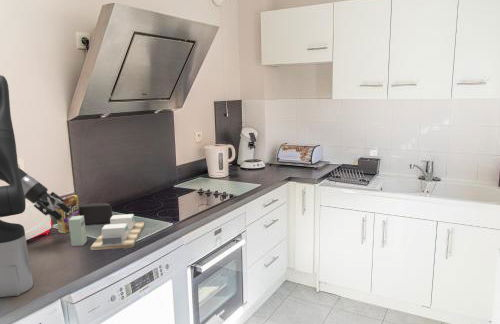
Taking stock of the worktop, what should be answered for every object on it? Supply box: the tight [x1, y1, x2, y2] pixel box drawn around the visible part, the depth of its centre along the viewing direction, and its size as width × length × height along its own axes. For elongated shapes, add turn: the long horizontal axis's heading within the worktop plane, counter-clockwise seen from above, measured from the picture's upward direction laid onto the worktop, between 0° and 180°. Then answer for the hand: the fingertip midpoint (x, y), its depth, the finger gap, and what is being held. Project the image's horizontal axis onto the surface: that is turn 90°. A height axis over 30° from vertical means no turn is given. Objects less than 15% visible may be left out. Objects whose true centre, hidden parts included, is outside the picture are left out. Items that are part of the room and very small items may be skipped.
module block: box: [68, 216, 88, 247], centre depth 152 cm, size 4×5×11 cm
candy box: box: [54, 194, 80, 234], centre depth 167 cm, size 9×4×15 cm, turn 152°
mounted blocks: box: [101, 213, 136, 244], centre depth 158 cm, size 24×9×5 cm, turn 5°
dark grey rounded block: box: [79, 202, 113, 226], centre depth 176 cm, size 16×5×9 cm, turn 96°
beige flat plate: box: [101, 221, 137, 246], centre depth 159 cm, size 25×8×1 cm, turn 5°
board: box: [89, 221, 146, 251], centre depth 159 cm, size 26×16×1 cm, turn 5°
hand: (65, 214), depth 150 cm, fingers open, 8 cm apart
